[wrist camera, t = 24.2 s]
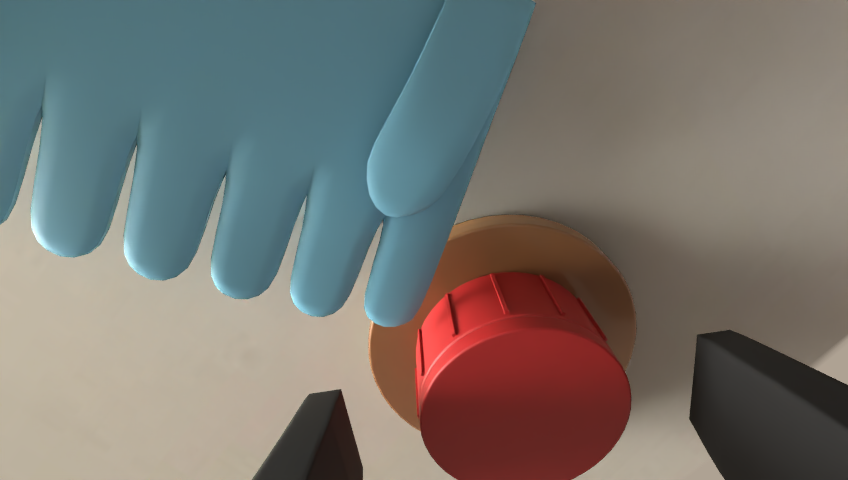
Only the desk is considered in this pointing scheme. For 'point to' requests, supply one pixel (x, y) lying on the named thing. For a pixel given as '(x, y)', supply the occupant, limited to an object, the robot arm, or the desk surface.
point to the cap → (517, 382)
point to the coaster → (495, 253)
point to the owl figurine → (256, 133)
